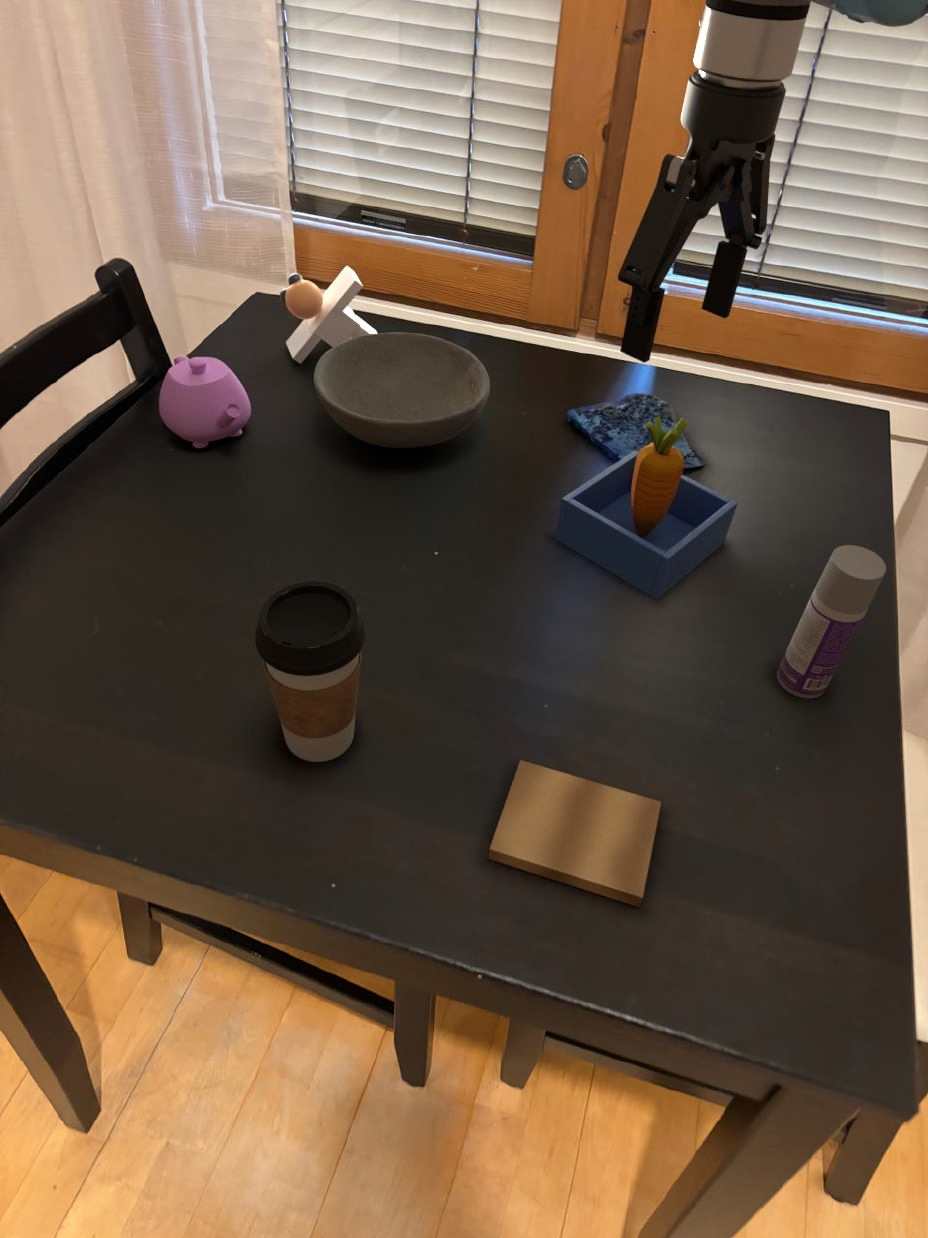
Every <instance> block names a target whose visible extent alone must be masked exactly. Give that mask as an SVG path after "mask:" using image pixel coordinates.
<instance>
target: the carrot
mask: <svg viewBox="0 0 928 1238" xmlns="http://www.w3.org/2000/svg"><path fill="white" fill-rule="evenodd" d="M655 422H656V426H657V428H656V427H655V425H654V424H653V423H652V422H648V423H647V425H646V427H647V429H648V431H649V433H650V436H651V438H652V441H653V443H651V444H649V445H647V446H645V447H644V448H642V449H640V450H639V452H638V454H637V458H636V463H635V468H634V474H633V480H632V487H631V511H632V516H633V522H634V526H635V529H636V532H637V535H639V536H640V537H645V536H647V535H648V534H649V533H650V532H651V531H652V530H653V529H654V528H656V526H657V525H658V524H659V523H660V522H661V520H662V519H663V518H664V516H665V514H666V512H667V511H668V509H669V507H670V505H671V503H672V501H673V499H674V497H675V494H676V491H677V488H678V485H679V482H680V479H681V476H682V475H683V473H684V469H685V468H684V460H683V457H682V454H681V451H680V450H679V449H677V448H675V447H673V445H674V444H675V443H676V442H677V441H678V440H679V439H680V438H681V437H682V434H681V433H682V432H684V430H685V429H686V426H687V424H688V421H687V419H686V418H685V417H680V419H679V421H678V422H677V423H678V424H677V426H676V427H675V429H673V428H672V429H671V430H670V431H669V432H667V431H666V430H665V431H663V434H662V423H661V419H660V417H657V418H655Z"/></svg>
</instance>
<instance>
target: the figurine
mask: <svg viewBox="0 0 928 1238" xmlns="http://www.w3.org/2000/svg"><path fill="white" fill-rule="evenodd" d="M287 282H288V285H289V286H288V287H285V288H283V289H281V291H280V292H279V298H280V301H281V302H282V303H283V304H285V305H286V308H287V311H289V312H290V314H291V315H293V316H294V317H296V318H297V319H300V320H302V321H301V323H300V324H299V325H298V326H297V327H296V329H295V330H293V333H291V335H290V336H289V337H288V339H287V340H286V341H285V344H286V346H287V349H288V351H289V353H290V356H291V358H292V360H294V361H295V362H297V363H298V364H299V365H302V363H303V362H304V361H305V360H306V359H307V357H308V356H309V355H310V354H311V352H312V351H313V350H314V349H315V347H316V346H317V345H318V344H319V343H320V341H321V340H322V341H323V342H325V343H326V344H328V346H330V347H331V348H333V347H335V346H336V345H338V344H340V343H343V342H345V341H347V340H349V339H352V338H355V337H358V336H362V335H367V334H379V333H378V332H377V329H375V328H373V326H371V325H369V324H368V323H367V322H366V321H365V320H363V318H361V317H360V316H358V315H357V314H355V312H354V310H353V309H352V308H350V307H349V304H350V303H351V302H352V301H353V300H354V299H355V297H356V296H357V294H358V293H359V292H360V291H361V290H362V289H363V288H364V285H363V284H362V282H361V280H360V278H359V277H358V275H357V273H356V272H355V270H353V269H352V268H351V267H350V266H348V265H345V266H344V268H343V269H342V270H341V271H340V273H338V275H337V277H335V279H334V280H333V281H332V283H331V284H330V285H329V286H328V288H326V290H325V292H323V293H322V291H321V289H320V288H319V286H318V285H317V284H315V283H314V282H312V281H310V280H308V279H304V278H303V276H302V275H301V274H300V273H298V272H293V273H291V274H289V276H288V280H287Z"/></svg>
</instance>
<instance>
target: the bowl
mask: <svg viewBox="0 0 928 1238" xmlns="http://www.w3.org/2000/svg"><path fill="white" fill-rule="evenodd" d="M313 382H314V387H315V391H316V395H317V396H318V399H319V400H320V402H321V405H322V406H323V408H324V410H325V411H326V412H327V414H328V415H329V416H330V418H332V420H333V421H335V423H336V424H337V425H338V426H339V427H340V428H342V429H343V430H344V431H345V432H347V433H348V434H350V435H351V436H353V437H354V438H356V439H358V440H360V441H363V442H365V443H368V444H370V445H374V446H378V447H384V448H393V449H415V448H421V447H429V446H434V445H438V444H439V445H440V444H442V443H446V442H447V441H450V440H452V439H453V438H455V437H457V436H458V435H459V434H461V433H462V432H464V431H465V430H467V429H468V428H469V427H470V426H471V425H472V424H473V423H474V422H476V420H477V419H478V418H479V417H480V415H481V413H482V411H483V409H484V408H485V406H486V404H487V401H488V399H489V395H490V390H491V381H490V376H489V373H488V372H487V369H486V368H485V366H484V365H483V363H482V362H481V360H479V359H478V358H477V356H476V355H474V354H473V353H472V352H471V351H469V350H467V349H466V348H464V347H461V346H460V345H458V344H455V343H453V342H451V341H448V340H445V339H443V338H440V337H438V336H433V335H427V334H423V333H414V332H381V333H378V334H367V335H362V336H358V337H355V338H353V337H352V339H349V340H347V341H345V342H343V343H340V344H338V345H336V346H335V347H331V348H330V349H328V350H327V351H326V352H325V353H323V355H322V356H321V357H320V358H319V360H318V361H317V363H316V366H315V369H314V374H313Z"/></svg>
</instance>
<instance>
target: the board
mask: <svg viewBox="0 0 928 1238" xmlns="http://www.w3.org/2000/svg"><path fill="white" fill-rule="evenodd" d="M661 806H662V802H661V801H659V800H656V799H653V798H651V797H650V798H649V797H646V796H643V795H640V794H636V793H632V792H629V791H626V790H622V789H619V788H616V787H612V786H609V785H606V784H602V783H599V782H595V781H592V780H589V779H586V778H582V777H579V776H576V775H573V774H569V773H567V772H563V771H558V770H556V769H552V768H548V767H545V766H542V765H538V764H535V763H531V762H530V761H529V762H528V761H524V760H521V759H520V760H519V763H518V765H517V768H516V771H515V774H514V777H513V780H512V783H511V786H510V789H509V791H508V794H507V797H506V800H505V802H504V806H503V809H502V811H501V814H500V817H499V820H498V823H497V826H496V829H495V831H494V834H493V838H492V840H491V843H490V846H489V850H488V857H487V859H488V860H490V861H493V862H497V863H500V864H502V865H506V866H508V867H512V868H515V869H519V870H522V871H525V872H528V873H531V874H535V875H537V876H540V877H544V878H547V879H550V880H552V881H556V882H559V883H562V884H565V885H568V886H572V887H574V888H577V889H581V890H584V891H587V892H590V893H593V894H596V895H600V896H602V897H606V898H609V899H612V900H615V901H618V902H621V903H624V904H628V905H630V906H634V907H637V908H640V906H641V904H642V902H643V898H644V894H645V889H646V883H647V879H648V873H649V868H650V864H651V859H652V853H653V848H654V843H655V838H656V834H657V833H656V832H657V827H658V823H659V817H660V812H661Z"/></svg>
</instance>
